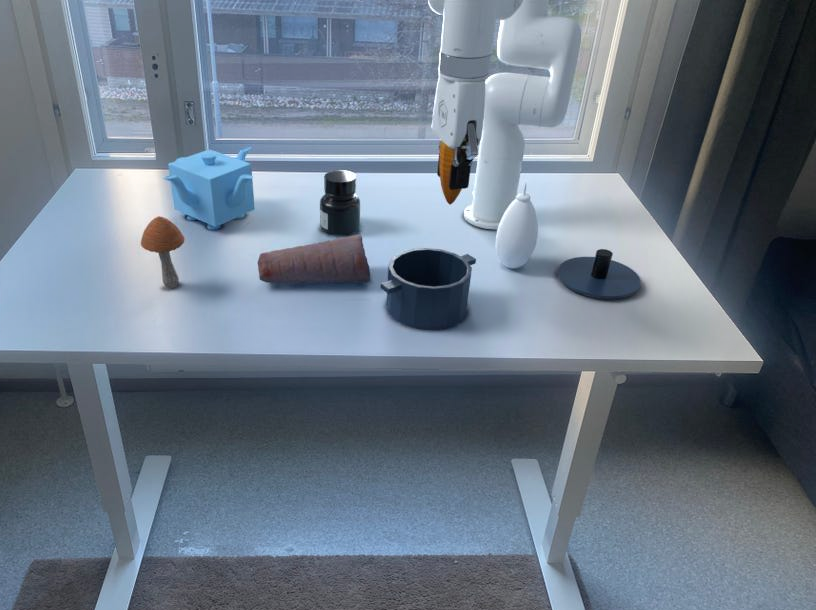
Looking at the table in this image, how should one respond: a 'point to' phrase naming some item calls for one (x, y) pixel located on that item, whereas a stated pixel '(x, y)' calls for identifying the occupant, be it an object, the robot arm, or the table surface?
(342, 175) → the ink bottle
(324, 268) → the food
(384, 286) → the saucepan
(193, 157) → the teakettle
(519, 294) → the table surface
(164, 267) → the mushroom
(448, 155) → the carrot
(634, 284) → the saucepan lid
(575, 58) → the robot arm
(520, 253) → the white egg-shaped bulb
